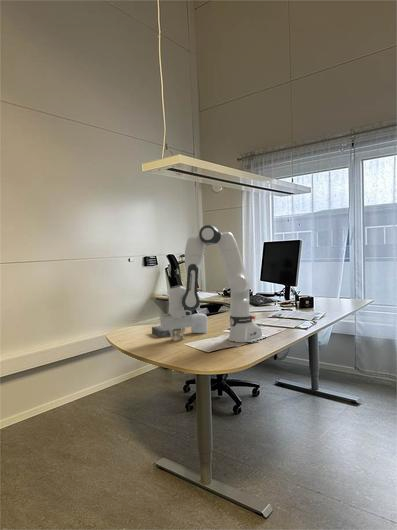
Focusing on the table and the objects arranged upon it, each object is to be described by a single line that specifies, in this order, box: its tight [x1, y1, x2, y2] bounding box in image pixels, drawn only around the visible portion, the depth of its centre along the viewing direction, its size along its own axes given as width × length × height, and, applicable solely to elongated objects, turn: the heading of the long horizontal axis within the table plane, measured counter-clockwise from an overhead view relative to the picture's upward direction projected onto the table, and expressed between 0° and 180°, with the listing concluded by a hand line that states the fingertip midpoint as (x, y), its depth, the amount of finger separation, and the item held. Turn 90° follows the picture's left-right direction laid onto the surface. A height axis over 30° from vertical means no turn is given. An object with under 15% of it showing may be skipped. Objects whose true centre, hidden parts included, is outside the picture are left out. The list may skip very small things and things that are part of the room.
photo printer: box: [190, 313, 208, 334], centre depth 226 cm, size 10×4×12 cm, turn 84°
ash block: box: [171, 328, 184, 342], centre depth 211 cm, size 5×5×6 cm
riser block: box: [151, 325, 182, 339], centre depth 225 cm, size 14×14×4 cm
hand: (177, 335), depth 211 cm, fingers closed on ash block, 5 cm apart
